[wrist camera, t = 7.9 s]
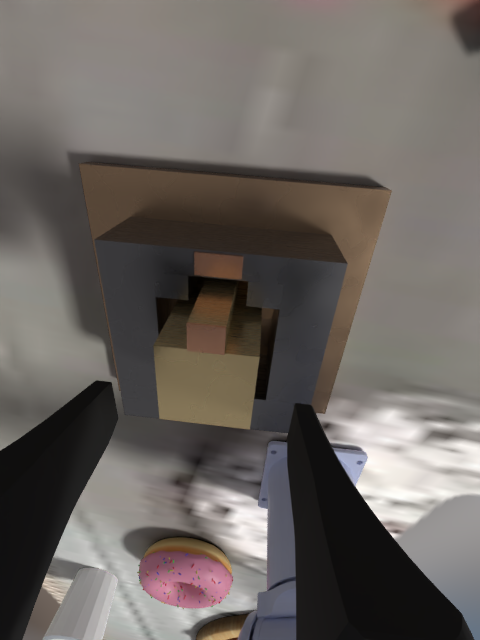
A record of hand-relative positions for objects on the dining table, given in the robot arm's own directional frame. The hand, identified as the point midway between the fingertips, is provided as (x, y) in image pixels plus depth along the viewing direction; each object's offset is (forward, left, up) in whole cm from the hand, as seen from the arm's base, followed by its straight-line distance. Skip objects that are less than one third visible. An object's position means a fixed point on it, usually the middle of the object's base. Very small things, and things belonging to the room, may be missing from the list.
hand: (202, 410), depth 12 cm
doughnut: (-35, +3, -9) cm, 36 cm away
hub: (0, 0, -9) cm, 9 cm away
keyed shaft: (0, 0, -8) cm, 8 cm away
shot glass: (-45, +16, -9) cm, 49 cm away
